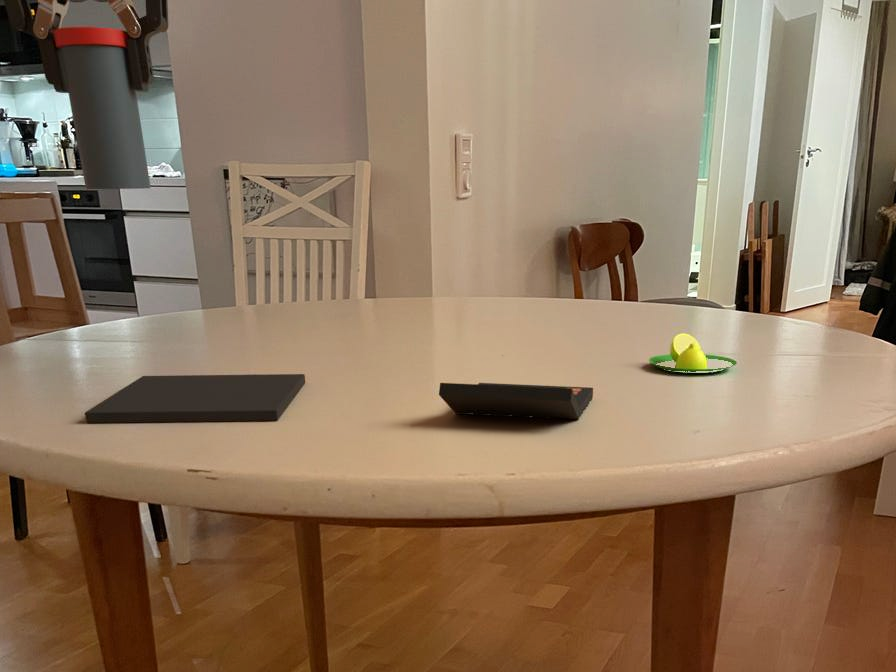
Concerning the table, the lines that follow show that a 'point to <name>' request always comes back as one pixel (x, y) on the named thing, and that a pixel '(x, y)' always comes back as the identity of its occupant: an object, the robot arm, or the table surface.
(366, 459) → the table surface
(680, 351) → the lemon
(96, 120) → the tumbler
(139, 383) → the mat
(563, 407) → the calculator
